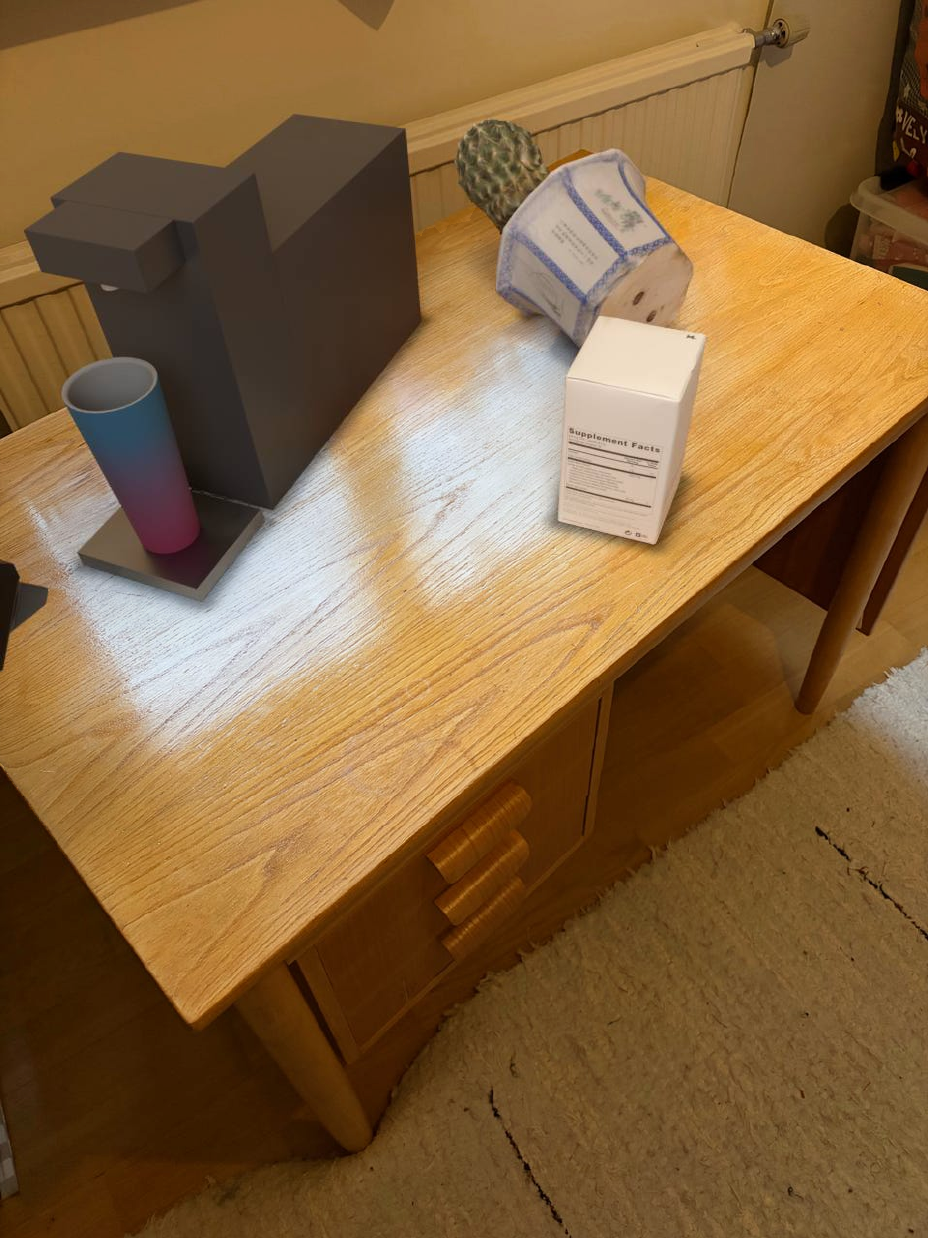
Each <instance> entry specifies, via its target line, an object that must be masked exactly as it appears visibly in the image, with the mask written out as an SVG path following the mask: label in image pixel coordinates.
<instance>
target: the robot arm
mask: <svg viewBox="0 0 928 1238" xmlns="http://www.w3.org/2000/svg"><path fill="white" fill-rule="evenodd" d="M20 579H21V576H20V574H19V572H18V570H17V567H16V566H15V564H14V563H12V562H9V561H7V560H3V559H1V558H0V673H1V672H3V670H4V667H5V661H6V657H7V656H6V655H7V651H8V645H9V640H10V634H11V633H13V632H14V631H15V630H16V629H17V628H18V627H20V626H21V625H22V624H24V623H25V622H26V621H27V620H29V619H30V618H32V616H33V615H35V614H36V613H37V612H38V611H40V610H41V609H42V608H43V607H45V606H46V605H47V602H48V597H49V588H48V587H46V586H43V585H38V584H34V583H30V582H25V581H20Z"/></svg>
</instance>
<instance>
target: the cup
mask: <svg viewBox="0 0 928 1238" xmlns="http://www.w3.org/2000/svg"><path fill="white" fill-rule="evenodd" d="M60 395H61V400H62V402H63V404H64V405H65V408H66V410H67V411H68V413H69V414H70V416H71V418H72V420H73V422H74V424H75V426H76V427H77V429H78V431H79V433H80V434H81V436H82V438H83V440H84V441H85V443H86V445H87V447H88V449H89V451H90V453H91V454H92V456H93V458H94V460H95V461H96V463H97V465H98V467H99V469H100V470H101V472H102V475H103V476H104V478H105V480H106V481H107V484H108V485H109V487H110V489H111V490H112V493H113V494H114V497H115V498H116V500H117V502H118V503H119V506H120V507H122V509H123V511H124V512H125V514H126V516H127V518H128V520H129V521H130V523H131V525H132V527H133V529H134V530H135V532H136V534H137V536H138V538H139V540H140V541H141V543H142V545H143V546H144V547H145V548H146V549H147V550H149V551H151V552H154V553H159V554H169V553H174V552H177V551H180V550H182V549H184V548H186V547H188V546H189V545H191V544H192V543H193V542H194V541H195V539H196V538H197V537H198V535H199V532H200V523H199V520H198V516H197V513H196V509H195V506H194V502H193V498H192V495H191V491H190V490H191V488H189V484H188V481H187V477H186V474H185V470H184V466H183V463H182V459H181V456H180V452H179V449H178V445H177V441H176V438H175V434H174V431H173V427H172V424H171V420H170V416H169V413H168V409H167V406H166V402H165V399H164V395H163V392H162V388H161V384H160V381H159V377H158V374H157V371H156V369H155V368H154V367H153V366H152V365H151V364H150V363H148V362H147V361H144V360H142V359H138V358H133V357H114V358H113V357H109V358H104V359H100V360H96V361H94V362H91V363H89V364H87V365H84V366H82V367H81V368H79V369H78V370H77V371H75V372H73V373H71V375H70V376H69V377H68V378H67V379H66V381H65V382H64V383H63V386H62V388H61V393H60Z"/></svg>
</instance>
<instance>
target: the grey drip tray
mask: <svg viewBox="0 0 928 1238" xmlns="http://www.w3.org/2000/svg"><path fill="white" fill-rule="evenodd" d="M190 491H191V495H192V498H193V502H194V506H195V509H196V513H197V516H198V520H199V523H200V532H199V535H198V537H197V538H196V539H195V541H194V542H193V543H192V544H191V545H189V546H188V547H186V548H184V549H182V550H180V551H177V552H174V553H169V554H159V553H154V552H151V551H149V550H147V549H146V548H145V547H144V546H143V545H142V543H141V541H140V540H139V538H138V536H137V534H136V532H135V530H134V529H133V527H132V525H131V523H130V521H129V520H128V518H127V516H126V514H125V512H124V511H123V509H122V507H121V506H119V507H118V508H117V510H116V511H115V512H114V513H113V514H112V515H111V516H110V517H109V518H108V519H107V520H106V521H105V522H104V523H103V525H101V526H100V527H99V528H98V530H97V531H96V532H95V533H94V534H93V535H92V536H91V537H90V538H88V540H87V541H86V542H85V543H84V545H82V546H81V547H80V549H79V550H78V551H77V552H76V553H77V555H78V557H79V559H80V561H81V562H82V564H83V566H86V567H87V566H88V567H90V568H94V569H97V570H100V571H103V572H107V573H108V574H109V573H110V574H113V575H116V576H119V577H122V578H126V579H129V580H131V581H134V582H138V583H142V584H144V585H147V586H150V587H154V588H157V589H160V590H162V591H163V590H164V591H167V592H170V593H173V594H177V595H180V596H183V597H186V598H189V599H192V600H196V601H199V602H203V601H204V600H205V598H206V597H207V596H208V595H209V593H210V592H212V589H213V588H214V587H215V586H216V584H218V582H219V581H220V579H221V578H222V577H223V576H224V574H225V573H226V572H227V571H228V569H229V568H230V567H231V565H232V564H233V563H234V562H235V561H236V559H237V558H238V557H239V555H240V554H241V553H242V552H243V550H244V549H245V548H246V546H247V545H248V544H249V542H250V541H251V540H252V539H253V538H254V536H255V535H256V534H257V532H258V531H259V529H260V528H262V526H263V525H264V523H265V518H264V515H263V511H262V508H261V509H260V508H259V507H258V508H257V507H254V506H250V505H247V504H243V503H240V502H235V501H232V500H229V499H225V498H221V497H217V496H213V495H210V494H206V493H202V492H199V491H195V490H192V489H190Z"/></svg>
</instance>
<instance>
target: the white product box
mask: <svg viewBox="0 0 928 1238" xmlns="http://www.w3.org/2000/svg"><path fill="white" fill-rule="evenodd" d="M706 342H707V335H706V334H705V333H700V332H696V331H695V332H694V331H687V330H681V329H675V328H670V327H659V326H653V325H648V324H643V323H638V322H634V321H629V320H624V319H619V318H613V317H604V316H599V317H598V319H597V320H596V322H595V324H594V326H593V328H592V329H591V331H590V333H589V335H588V337H587V338H586V340H585V342H584V344H583V346H582V347H581V349H580V348H579V351H578V353H577V355H576V356H575V358H574V360H573V362H572V364H571V366H570V367H569V370H568V371H567V372H566V375H565V376H564V392H563V393H564V397H563V412H562V413H563V414H562V432H561V448H560V449H561V450H560V465H559V466H560V469H559V484H558V485H559V487H558V502H557V503H558V507H557V521H558V522H559V523H564V524H566V525H567V524H568V525H571V526H576V527H580V528H585V529H589V530H593V531H596V532H600V533H605V534H608V535H613V536H617V537H621V538H626V539H629V540H633V541H638V542H642V543H646V544H649V545H656V544H657V542H658V540H659V537H660V534H661V532H662V530H663V526H664V524H665V521H666V520H667V519H666V518H667V516H668V514H669V512H670V508H671V505H672V503H673V500H674V497H675V495H676V492H677V489H678V487H679V485H680V481H681V476H682V471H683V466H684V460H685V455H686V450H687V443H688V439H689V433H690V427H691V422H692V417H693V411H694V406H695V402H696V396H697V390H698V384H699V380H700V374H701V370H702V363H703V359H704V352H705V347H706Z"/></svg>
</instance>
